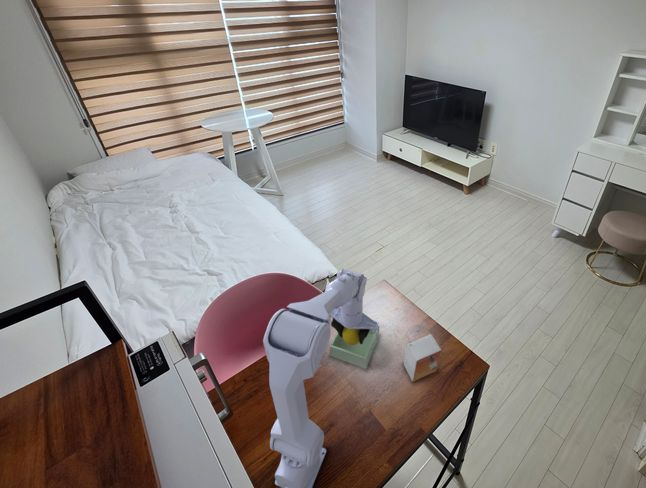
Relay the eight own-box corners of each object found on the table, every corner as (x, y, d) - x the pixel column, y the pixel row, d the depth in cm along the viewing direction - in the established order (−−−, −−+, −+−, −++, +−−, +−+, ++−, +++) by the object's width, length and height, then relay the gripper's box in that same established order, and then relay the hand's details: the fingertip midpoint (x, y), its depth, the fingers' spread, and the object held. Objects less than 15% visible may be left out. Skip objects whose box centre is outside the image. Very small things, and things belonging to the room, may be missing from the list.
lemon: (366, 341, 95) (366, 324, 91) (352, 354, 92) (351, 337, 87) (352, 329, 98) (352, 312, 94) (338, 342, 95) (337, 325, 90)
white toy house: (412, 382, 91) (416, 361, 85) (403, 364, 95) (405, 343, 89) (437, 371, 93) (442, 350, 87) (426, 354, 98) (431, 333, 92)
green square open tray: (366, 368, 93) (366, 359, 90) (330, 356, 96) (329, 346, 93) (378, 335, 102) (379, 326, 99) (345, 324, 105) (345, 315, 102)
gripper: (382, 303, 87) (381, 333, 95) (333, 288, 91) (335, 318, 99) (373, 324, 82) (372, 355, 89) (321, 307, 85) (324, 338, 93)
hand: (352, 337), depth 94 cm, fingers closed on lemon, 5 cm apart
